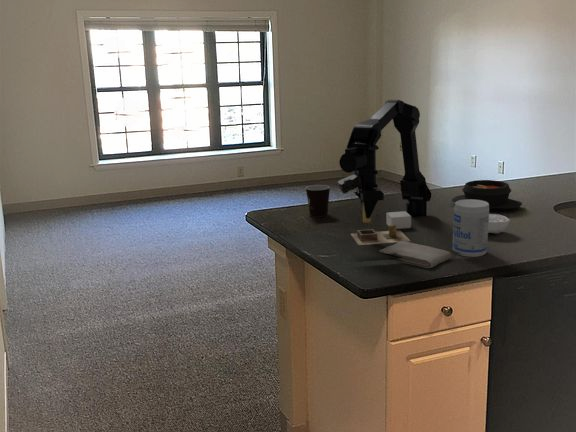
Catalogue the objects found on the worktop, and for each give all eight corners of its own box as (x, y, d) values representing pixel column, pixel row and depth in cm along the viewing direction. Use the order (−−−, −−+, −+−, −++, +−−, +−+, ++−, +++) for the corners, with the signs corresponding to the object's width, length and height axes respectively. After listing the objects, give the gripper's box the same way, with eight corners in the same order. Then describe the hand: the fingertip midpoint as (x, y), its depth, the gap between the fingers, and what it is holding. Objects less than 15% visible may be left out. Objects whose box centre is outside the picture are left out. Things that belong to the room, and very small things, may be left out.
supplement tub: (446, 254, 182) (447, 204, 178) (461, 245, 189) (462, 197, 185) (478, 260, 176) (480, 208, 172) (492, 251, 183) (494, 201, 179)
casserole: (530, 205, 229) (531, 182, 227) (508, 217, 216) (509, 193, 214) (466, 197, 245) (466, 175, 243) (442, 207, 232) (442, 185, 230)
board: (399, 233, 203) (399, 219, 202) (410, 244, 192) (410, 229, 190) (350, 237, 202) (350, 223, 200) (358, 248, 190) (358, 233, 189)
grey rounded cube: (405, 225, 211) (405, 211, 210) (411, 231, 205) (411, 216, 204) (386, 227, 211) (386, 212, 209) (391, 232, 205) (391, 217, 203)
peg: (369, 220, 196) (369, 198, 194) (371, 222, 194) (371, 200, 192) (362, 221, 196) (361, 198, 194) (363, 223, 193) (363, 200, 191)
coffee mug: (328, 217, 226) (328, 190, 223) (304, 217, 227) (303, 190, 225) (333, 209, 237) (332, 183, 234) (310, 209, 238) (309, 183, 236)
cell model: (501, 240, 192) (502, 218, 191) (464, 233, 200) (464, 213, 198) (514, 231, 200) (515, 211, 198) (478, 226, 207) (478, 206, 206)
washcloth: (399, 247, 191) (399, 237, 190) (453, 259, 179) (453, 248, 178) (376, 258, 183) (376, 248, 182) (431, 271, 171) (431, 260, 170)
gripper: (334, 162, 198) (335, 211, 202) (345, 174, 180) (346, 227, 184) (369, 160, 199) (369, 208, 203) (384, 171, 181) (384, 224, 185)
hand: (366, 217), depth 194 cm, fingers closed on peg, 2 cm apart
